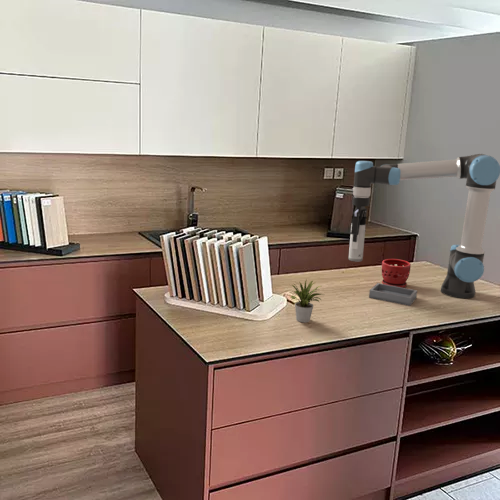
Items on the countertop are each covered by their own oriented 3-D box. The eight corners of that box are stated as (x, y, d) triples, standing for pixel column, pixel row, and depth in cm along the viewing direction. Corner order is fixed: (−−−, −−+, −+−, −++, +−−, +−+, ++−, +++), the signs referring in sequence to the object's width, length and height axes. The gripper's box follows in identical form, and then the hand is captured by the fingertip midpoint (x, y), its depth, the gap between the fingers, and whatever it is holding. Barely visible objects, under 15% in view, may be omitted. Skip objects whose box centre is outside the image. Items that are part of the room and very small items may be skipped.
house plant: (292, 329, 207) (296, 287, 203) (276, 316, 219) (279, 276, 215) (326, 325, 213) (330, 284, 209) (308, 312, 225) (311, 273, 221)
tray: (416, 297, 252) (417, 290, 251) (409, 305, 241) (410, 298, 240) (376, 290, 260) (377, 283, 259) (368, 297, 248) (369, 290, 248)
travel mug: (363, 262, 251) (367, 218, 247) (348, 261, 253) (351, 217, 248) (363, 258, 257) (367, 215, 253) (348, 257, 259) (352, 214, 254)
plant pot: (379, 280, 275) (382, 257, 272) (406, 284, 272) (410, 260, 270) (379, 288, 263) (382, 264, 260) (408, 292, 260) (411, 267, 257)
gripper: (359, 193, 258) (355, 242, 264) (346, 198, 241) (342, 250, 247) (375, 194, 255) (370, 244, 260) (363, 199, 238) (358, 252, 244)
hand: (356, 247), depth 254 cm, fingers closed on travel mug, 6 cm apart
